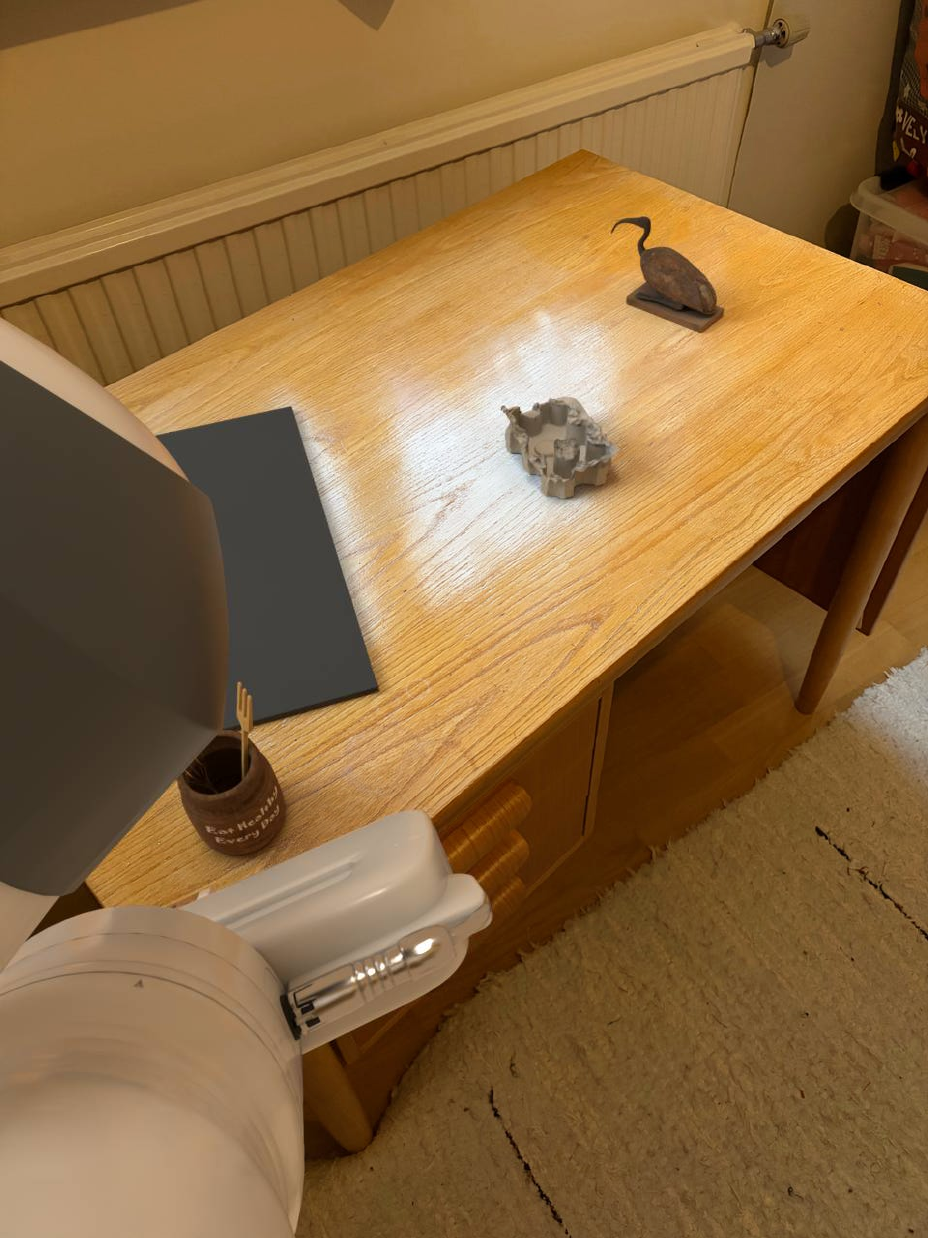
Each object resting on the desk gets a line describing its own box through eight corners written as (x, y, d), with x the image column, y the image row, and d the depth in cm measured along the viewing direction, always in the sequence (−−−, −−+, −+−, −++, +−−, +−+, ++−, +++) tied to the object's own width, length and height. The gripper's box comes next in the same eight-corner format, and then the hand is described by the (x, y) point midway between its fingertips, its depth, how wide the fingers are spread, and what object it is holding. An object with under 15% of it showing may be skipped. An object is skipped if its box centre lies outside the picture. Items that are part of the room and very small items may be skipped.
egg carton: (496, 438, 83) (495, 402, 80) (566, 417, 85) (568, 381, 82) (546, 507, 77) (547, 471, 74) (621, 482, 79) (626, 446, 75)
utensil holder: (183, 811, 59) (123, 712, 50) (264, 760, 62) (221, 657, 52) (223, 877, 56) (167, 784, 47) (308, 820, 58) (270, 722, 49)
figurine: (594, 290, 99) (600, 214, 93) (617, 274, 101) (624, 199, 95) (701, 333, 93) (716, 255, 86) (723, 315, 95) (740, 237, 88)
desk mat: (103, 767, 62) (100, 762, 61) (86, 455, 84) (84, 450, 83) (379, 691, 65) (378, 686, 64) (292, 410, 87) (291, 405, 87)
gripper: (463, 811, 23) (399, 742, 36) (-397, 1197, 19) (-110, 959, 33) (550, 1030, 23) (455, 881, 37) (-275, 1450, 19) (-42, 1111, 33)
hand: (185, 919), depth 35 cm, fingers closed
